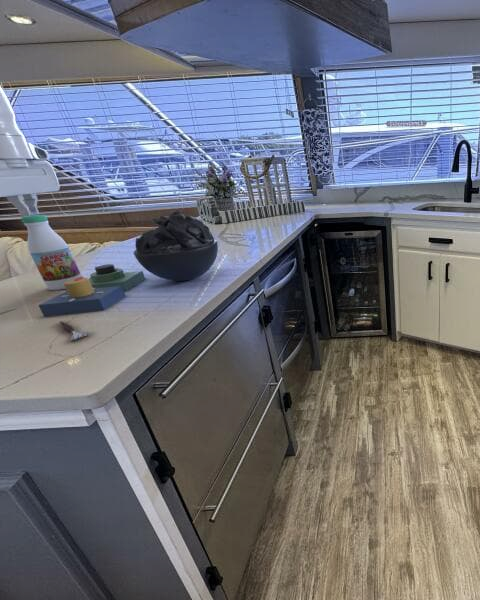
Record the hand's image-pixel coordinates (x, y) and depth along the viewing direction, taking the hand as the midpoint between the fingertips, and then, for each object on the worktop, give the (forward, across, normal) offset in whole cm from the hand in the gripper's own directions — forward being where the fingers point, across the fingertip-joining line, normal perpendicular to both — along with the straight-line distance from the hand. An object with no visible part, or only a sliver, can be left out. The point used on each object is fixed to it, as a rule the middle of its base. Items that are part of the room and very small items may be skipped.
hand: (30, 215), depth 76 cm
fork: (+21, -24, -16) cm, 36 cm away
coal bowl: (+21, +6, -27) cm, 34 cm away
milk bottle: (+22, +11, +7) cm, 26 cm away
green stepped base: (+21, +5, -8) cm, 23 cm away
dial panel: (+21, -9, -10) cm, 25 cm away
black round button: (+17, +5, -7) cm, 19 cm away
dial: (+18, -9, -10) cm, 22 cm away
